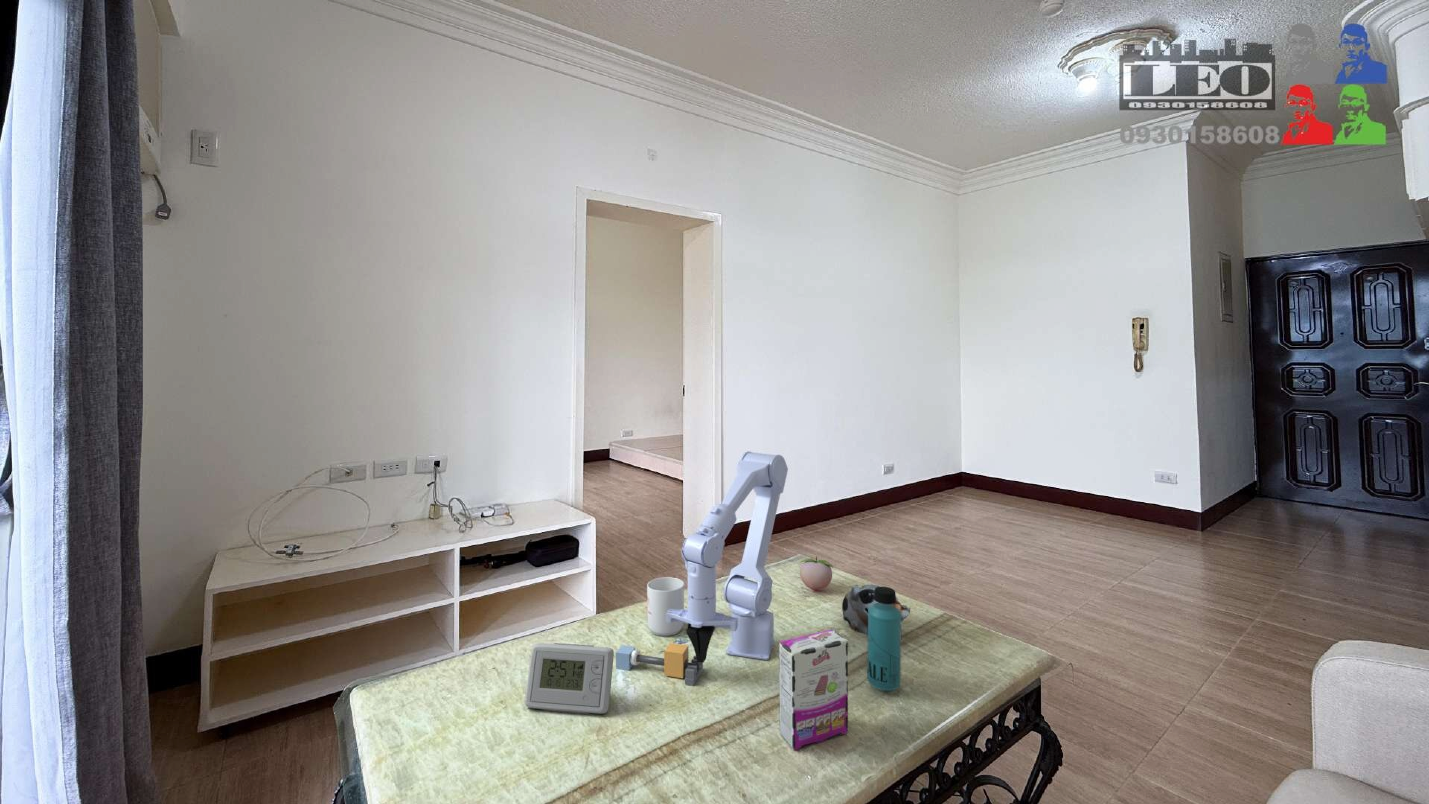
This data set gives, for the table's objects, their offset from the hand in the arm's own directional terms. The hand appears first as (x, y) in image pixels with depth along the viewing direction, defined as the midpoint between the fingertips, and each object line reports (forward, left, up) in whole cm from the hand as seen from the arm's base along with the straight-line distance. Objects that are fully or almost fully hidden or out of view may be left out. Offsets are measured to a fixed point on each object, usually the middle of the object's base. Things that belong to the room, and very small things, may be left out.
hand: (701, 659), depth 108 cm
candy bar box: (-23, +11, -4) cm, 26 cm away
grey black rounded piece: (-34, -33, -4) cm, 48 cm away
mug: (+16, -19, -4) cm, 25 cm away
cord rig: (+9, 0, -4) cm, 10 cm away
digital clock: (+21, +15, -4) cm, 26 cm away
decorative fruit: (-18, -51, -4) cm, 54 cm away
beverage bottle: (-35, -6, -4) cm, 36 cm away
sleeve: (+5, 0, -4) cm, 7 cm away
